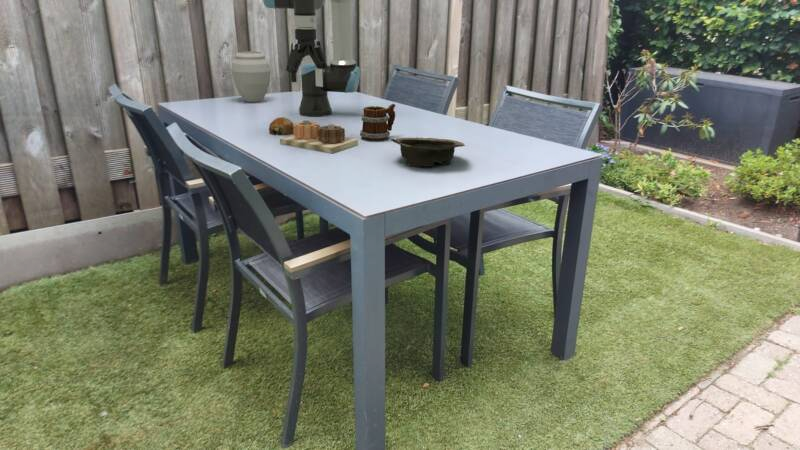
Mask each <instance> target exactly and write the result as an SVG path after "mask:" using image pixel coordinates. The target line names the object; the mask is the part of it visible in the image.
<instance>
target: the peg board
mask: <svg viewBox="0 0 800 450" xmlns="http://www.w3.org/2000/svg"><path fill="white" fill-rule="evenodd" d="M302 122H303V125H310V122H311V121H310V120H302ZM345 131H346V129H345V127H342V126H340V125H336V124H334V123H333V124H331V123H329V124H327V125H322V126H320V129H318V137H317V138H314V139H298V138H297V137H296V136H294V134H291V135H289V136H288V135H287V136H285V137H282V138H279V144H280V145H283V146H288V145H289V147H295V148H299V147H300V149H305V150H310V151H315V152H316V151H317V152H321V153H327V154H331V155H332V154H335V153H338V152H341V151H343V150H347V149H350V148H352V147H355V146H359V145H358V144H359V139H358V138H353V137H345V136H346V134H345Z"/></svg>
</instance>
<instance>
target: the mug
mask: <svg viewBox="0 0 800 450" xmlns="http://www.w3.org/2000/svg"><path fill="white" fill-rule="evenodd" d="M395 107H396V104H395V103H391V104H390V105H388V107H383V106H374V105H373V106H365V107H363V114H362V115H361V116H360V117H361V121H362V128H361V129H360V131H359V135H360V137H361V140H364V141H367V142H384V141H386V140H387V141H388V139H389V136H390V135H391V133H390V132H391V131H392V129H393V125H394V122H395V118H396V111H395Z"/></svg>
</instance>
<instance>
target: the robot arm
mask: <svg viewBox="0 0 800 450" xmlns="http://www.w3.org/2000/svg"><path fill="white" fill-rule="evenodd" d="M329 1H330V7H331V9H330V10H331V11H330V12H331V35H332V36H331V37H332V38H331V39H332V59H331V61H329V64H328V63H327V62H326V61H327V60H326V59H325V55H324V53H323V50H322V46H321V41H319V40H318V41H317V30H316V27H317V23H316V20H317V19H316V10H319V9H321V8H322V7H323V6H324V5H325V3H326V0H262V2H263V5H264V6H265V7H266V8H267V9H268V8H269V9H275V10H276V9H289V10H292V9H293V19H294V20H293V21H294V23H293V24H294V27H295V29H294V37H295V38H294V39H295V40H296V41H297V42H296V43H293V42H292V43H291V44H290V52H289V56H288V60H287V65H286V69H285V71H286V72H288V73H290V82H291V88H292V91H291V92H296V93H298V92H300V90H301V101H300V106H299V108H298V114H299V115H300V116H305V117H326V116H331V115H332V111H333V110H332V107H331V104H330V101H329V100H330V99H329V97H328V92H329V93H330V92H332V93H346V94H347V93H355V92H356V91H357V90H358V87H359V84H360V78H361V68H360V67H359V66H358V65H357V61H356V60H354V59H353V35H352V34H353V32H352V31H353V29H352V26H353V25H352V1H353V0H329ZM308 56H310V58H311V59H312V62H311V63H304V64H303V65H302V66H301V63H302V61H303V60H304V58H305V57H308ZM300 66H301V71H300V73H301V74H299V72H298V70H299V68H300ZM300 76H301V89H300Z"/></svg>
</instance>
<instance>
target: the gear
mask: <svg viewBox="0 0 800 450" xmlns="http://www.w3.org/2000/svg"><path fill="white" fill-rule="evenodd" d="M320 127H321V126H320V124H318V123H317V122H314V121H310V125H303V121H299V122H296V123H295V124H294V125H293V131H294V133H293V135H294V136H296V137H297V138H298V139H314V138H317V137H318V129H320Z"/></svg>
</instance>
